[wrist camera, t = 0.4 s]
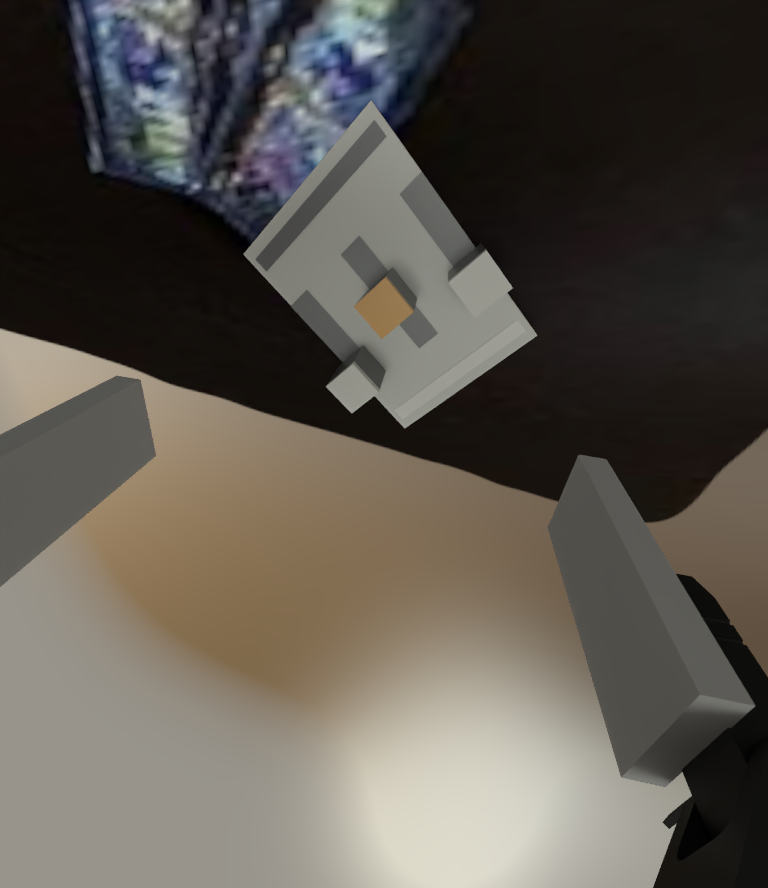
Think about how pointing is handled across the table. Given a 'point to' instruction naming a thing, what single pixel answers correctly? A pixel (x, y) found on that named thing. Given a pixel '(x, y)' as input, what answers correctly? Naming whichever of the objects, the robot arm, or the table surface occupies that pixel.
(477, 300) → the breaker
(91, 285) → the table surface
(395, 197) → the panel
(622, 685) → the robot arm
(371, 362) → the block
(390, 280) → the block
